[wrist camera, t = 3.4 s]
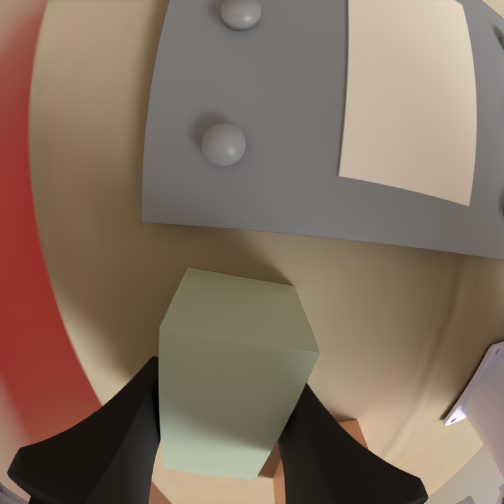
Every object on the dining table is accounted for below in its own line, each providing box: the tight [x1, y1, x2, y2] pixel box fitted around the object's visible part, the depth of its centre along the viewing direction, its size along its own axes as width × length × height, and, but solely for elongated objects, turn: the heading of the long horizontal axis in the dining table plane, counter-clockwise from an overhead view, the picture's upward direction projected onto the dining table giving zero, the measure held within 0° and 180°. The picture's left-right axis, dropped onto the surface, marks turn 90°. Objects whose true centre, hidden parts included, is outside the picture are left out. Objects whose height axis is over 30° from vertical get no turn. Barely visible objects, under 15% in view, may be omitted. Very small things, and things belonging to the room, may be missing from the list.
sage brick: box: [159, 267, 320, 480], centre depth 10 cm, size 4×8×4 cm, turn 169°
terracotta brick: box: [273, 420, 368, 504], centre depth 13 cm, size 4×8×4 cm, turn 175°
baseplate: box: [141, 0, 504, 260], centre depth 7 cm, size 18×14×2 cm
